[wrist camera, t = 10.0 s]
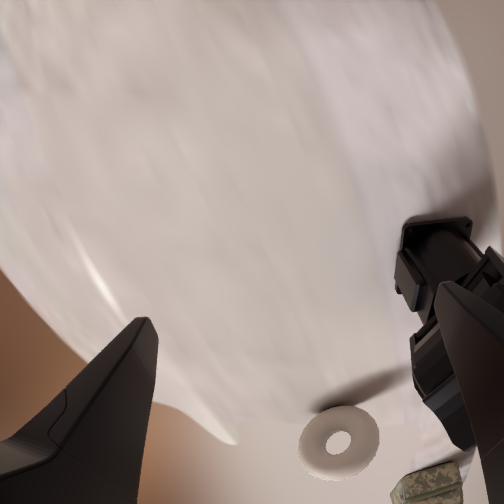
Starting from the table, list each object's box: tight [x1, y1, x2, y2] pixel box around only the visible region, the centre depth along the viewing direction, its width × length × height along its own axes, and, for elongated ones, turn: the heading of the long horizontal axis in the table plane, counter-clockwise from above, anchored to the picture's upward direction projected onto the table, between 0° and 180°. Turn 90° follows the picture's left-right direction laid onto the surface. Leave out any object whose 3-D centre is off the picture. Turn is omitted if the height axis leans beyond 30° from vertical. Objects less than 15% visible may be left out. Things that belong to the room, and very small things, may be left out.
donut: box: [298, 406, 379, 481], centre depth 31 cm, size 10×3×10 cm, turn 120°
